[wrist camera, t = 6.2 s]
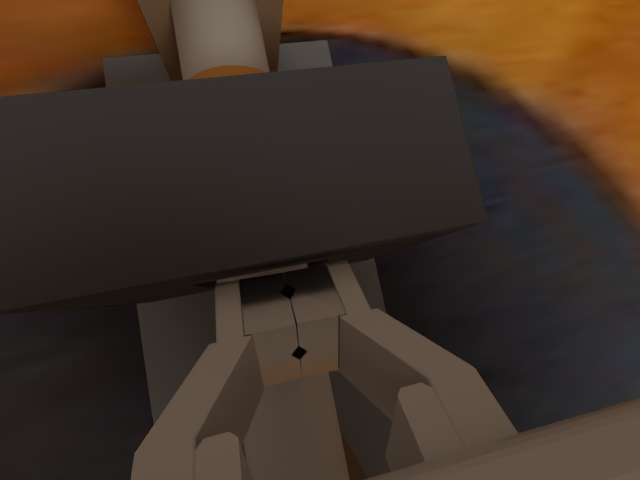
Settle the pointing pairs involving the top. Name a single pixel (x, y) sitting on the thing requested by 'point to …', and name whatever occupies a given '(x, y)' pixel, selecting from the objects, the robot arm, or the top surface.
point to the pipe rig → (199, 309)
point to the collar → (225, 179)
